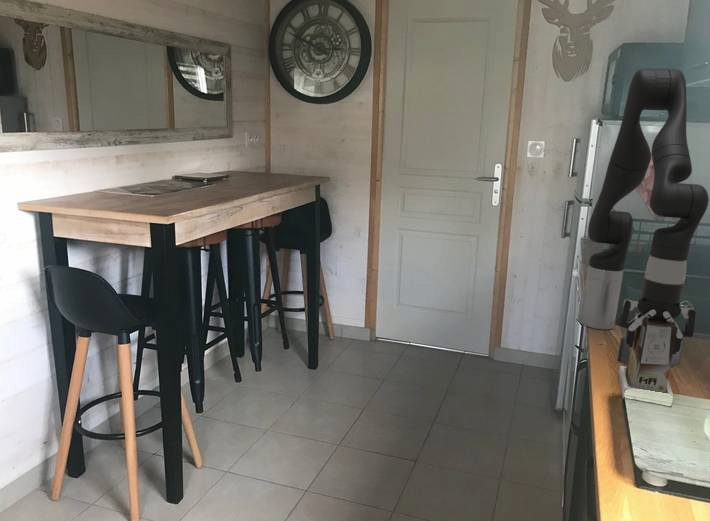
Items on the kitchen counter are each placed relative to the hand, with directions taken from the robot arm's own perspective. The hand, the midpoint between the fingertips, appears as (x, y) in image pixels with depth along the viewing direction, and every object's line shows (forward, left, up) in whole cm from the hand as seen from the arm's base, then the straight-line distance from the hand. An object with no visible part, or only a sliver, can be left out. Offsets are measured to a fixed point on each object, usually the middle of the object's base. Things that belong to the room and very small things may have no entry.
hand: (651, 349), depth 132 cm
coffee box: (0, 0, -9) cm, 9 cm away
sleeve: (-7, +17, -10) cm, 21 cm away
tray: (0, 0, -10) cm, 10 cm away
